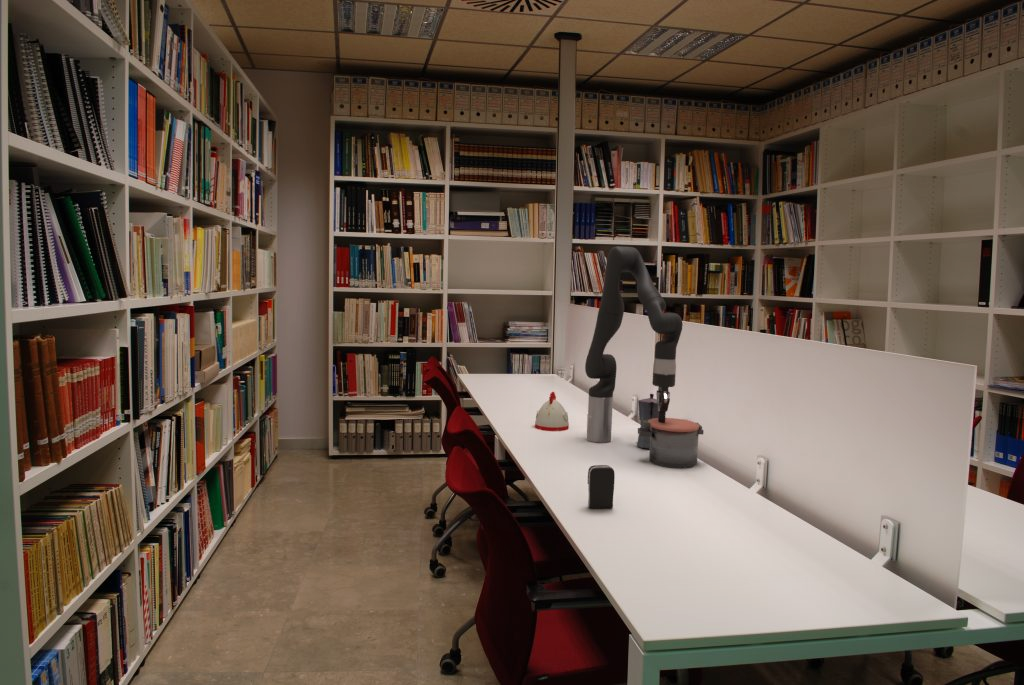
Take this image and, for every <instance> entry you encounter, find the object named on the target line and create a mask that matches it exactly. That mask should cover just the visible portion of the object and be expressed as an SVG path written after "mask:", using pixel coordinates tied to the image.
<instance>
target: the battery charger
mask: <svg viewBox="0 0 1024 685" xmlns="http://www.w3.org/2000/svg"><path fill="white" fill-rule="evenodd" d="M615 478H616V477H615V470H614V468H613V467H611V466H610V465H606V464H605V465H603V464H596V465H592V466H591V465H590V467H588V470H587V485H588V488H587V489H588V490H587V491H588V501H587V507H588V508H589V509H612V508H613V507H614V494H615V493H614V492H615Z"/></svg>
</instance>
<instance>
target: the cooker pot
mask: <svg viewBox="0 0 1024 685" xmlns="http://www.w3.org/2000/svg"><path fill="white" fill-rule="evenodd" d="M637 434H638V436H639V435H640V436H645V437H650V449H649V455H648V457H649V458H648V460H649V462H650V463H651V464H653V465H655V466H658V467H663V468H667V469H668V468H669V469H690V468H691V469H692V468H694V466H695V465H696V466H697V465H698V456H699V455H698V454H699V436H700V435H704V429H703V428H702V429H701V430H697V431H693V432H673V431H665V430H660V429H656V428H652V427H651V430H650V428H640V427H638V428H637ZM696 466H695V467H696Z"/></svg>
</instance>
